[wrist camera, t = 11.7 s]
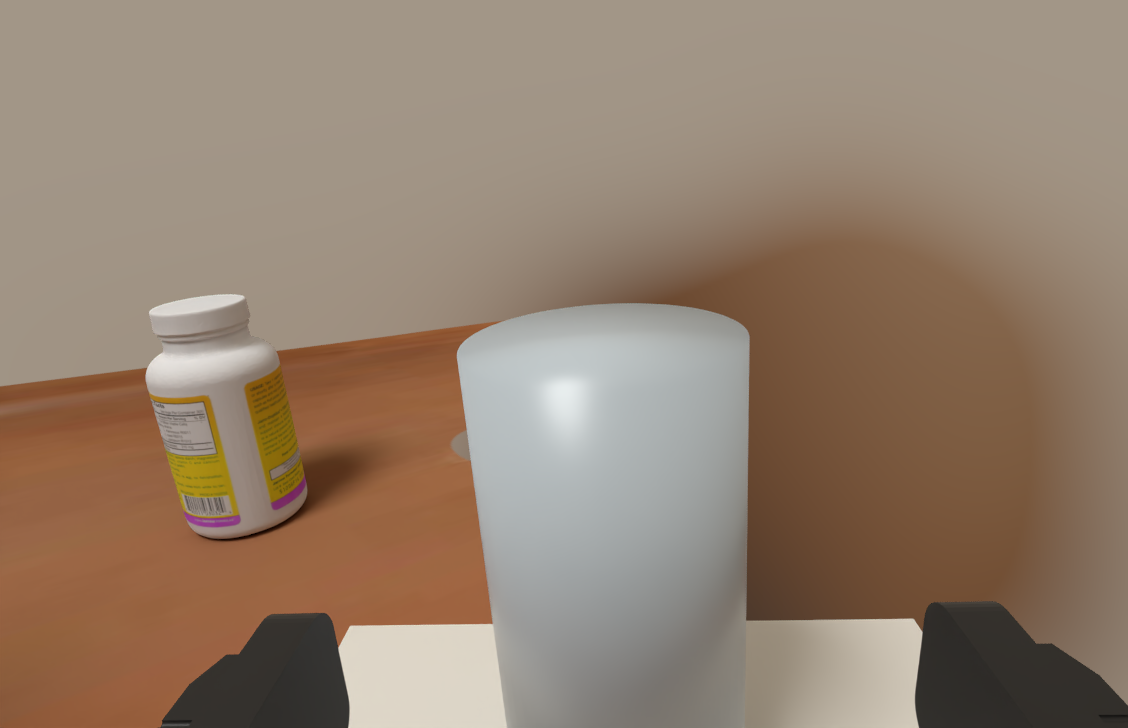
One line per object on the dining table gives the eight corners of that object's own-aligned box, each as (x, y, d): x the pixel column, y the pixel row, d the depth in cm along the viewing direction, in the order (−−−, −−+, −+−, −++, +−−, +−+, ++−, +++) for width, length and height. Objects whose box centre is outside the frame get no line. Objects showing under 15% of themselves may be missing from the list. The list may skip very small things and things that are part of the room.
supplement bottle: (299, 474, 44) (258, 284, 40) (319, 518, 38) (274, 302, 34) (186, 506, 41) (129, 303, 37) (190, 558, 35) (124, 326, 31)
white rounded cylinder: (497, 880, 14) (422, 397, 11) (529, 677, 19) (486, 311, 16) (767, 886, 14) (781, 380, 10) (724, 676, 19) (723, 297, 15)
